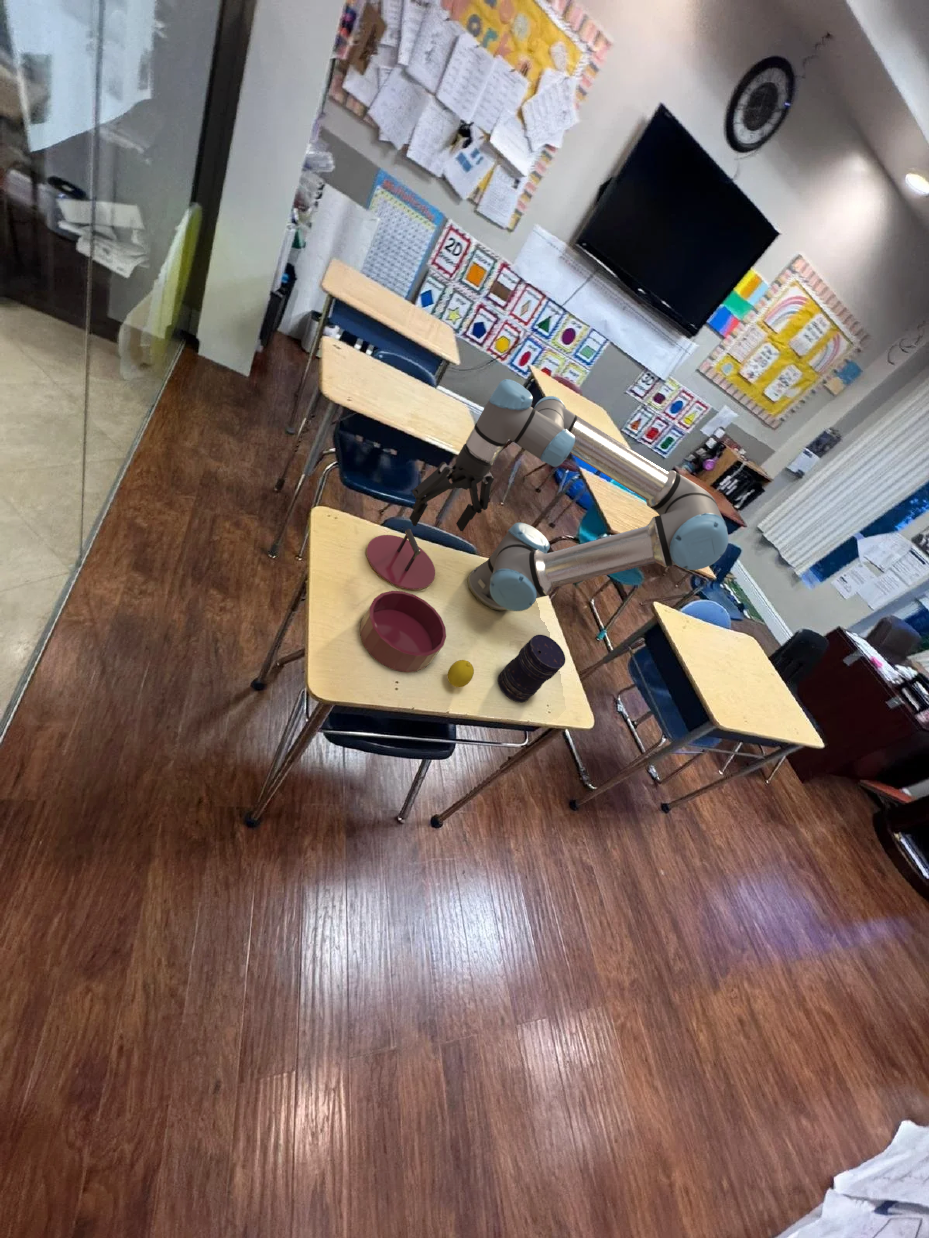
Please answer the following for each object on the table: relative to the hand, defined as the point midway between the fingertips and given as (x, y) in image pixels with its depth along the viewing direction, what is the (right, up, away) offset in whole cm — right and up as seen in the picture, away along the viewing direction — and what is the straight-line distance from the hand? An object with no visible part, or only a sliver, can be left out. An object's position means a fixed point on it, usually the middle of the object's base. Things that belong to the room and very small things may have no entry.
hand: (436, 525), depth 124 cm
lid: (-10, -7, +14) cm, 19 cm away
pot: (-9, -27, -4) cm, 29 cm away
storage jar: (+19, -40, +5) cm, 44 cm away
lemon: (+4, -38, -4) cm, 38 cm away
